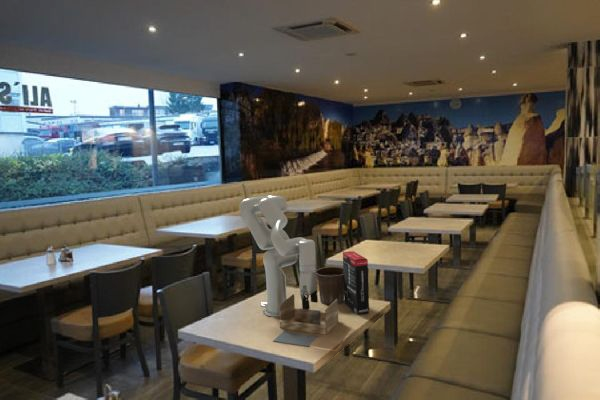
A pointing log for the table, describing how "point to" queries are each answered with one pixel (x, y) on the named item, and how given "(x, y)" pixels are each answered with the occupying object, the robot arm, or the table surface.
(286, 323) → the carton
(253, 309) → the table surface
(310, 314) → the walnut block
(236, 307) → the table surface
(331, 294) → the plant pot
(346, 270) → the graphics card box
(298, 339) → the rubber mat
